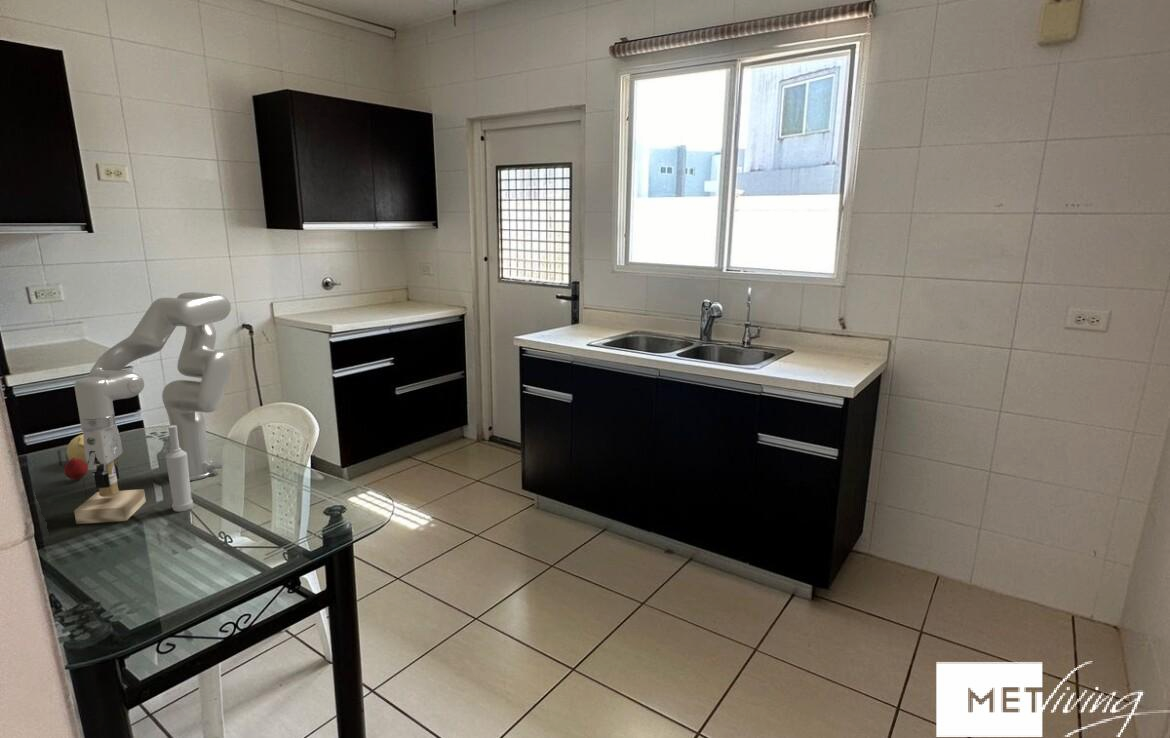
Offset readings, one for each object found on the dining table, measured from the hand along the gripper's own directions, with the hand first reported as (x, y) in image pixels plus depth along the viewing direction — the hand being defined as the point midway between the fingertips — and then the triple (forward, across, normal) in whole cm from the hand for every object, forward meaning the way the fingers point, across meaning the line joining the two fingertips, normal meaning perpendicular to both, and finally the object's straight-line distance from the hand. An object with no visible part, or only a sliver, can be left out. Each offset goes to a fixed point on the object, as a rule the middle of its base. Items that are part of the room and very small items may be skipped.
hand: (107, 482), depth 174 cm
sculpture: (+9, +41, +24) cm, 48 cm away
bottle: (+9, 0, -18) cm, 20 cm away
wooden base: (+9, 0, 0) cm, 9 cm away
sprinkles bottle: (+4, 0, 0) cm, 4 cm away
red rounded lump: (+9, +26, +21) cm, 35 cm away
